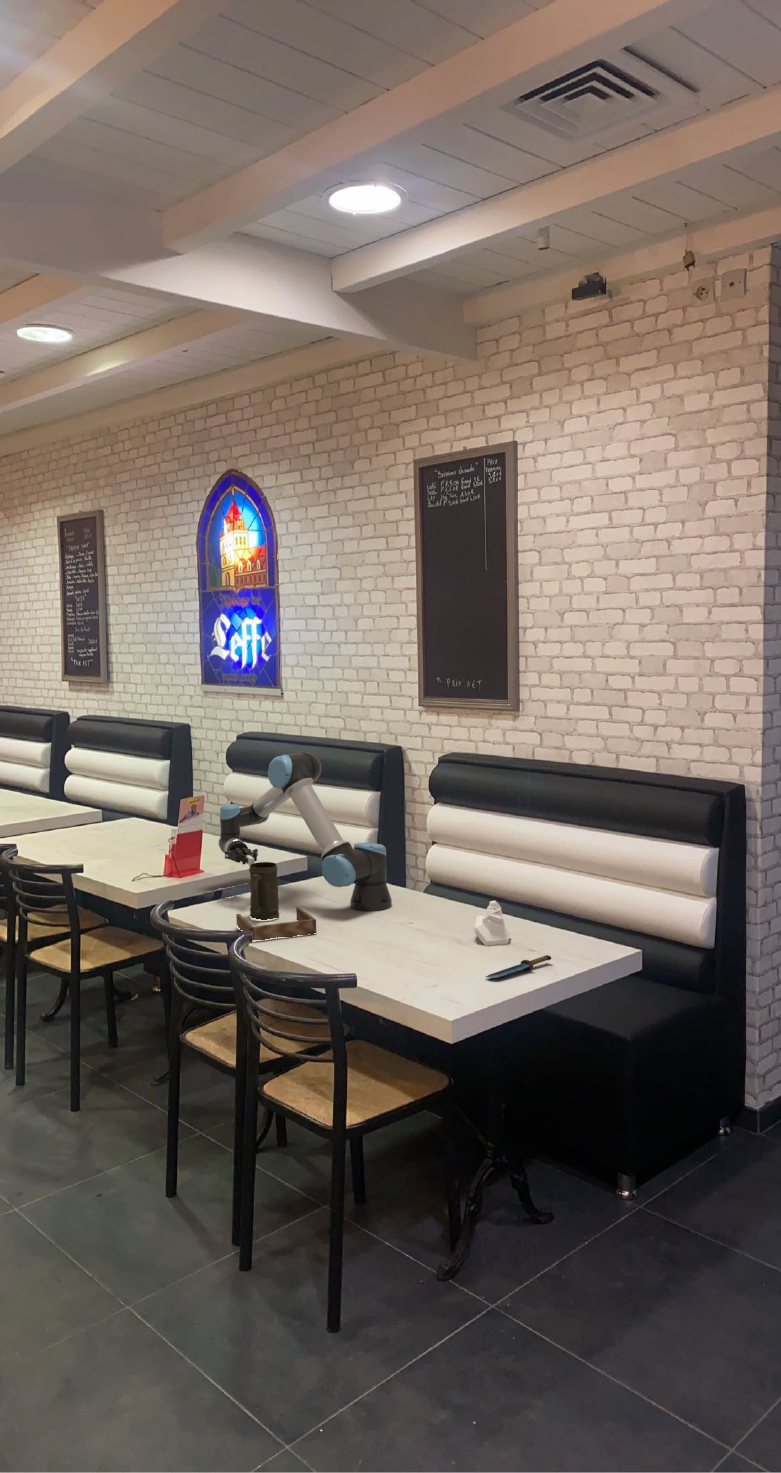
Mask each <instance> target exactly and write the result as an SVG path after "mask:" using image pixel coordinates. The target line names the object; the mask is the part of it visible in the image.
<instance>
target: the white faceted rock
mask: <svg viewBox="0 0 781 1473" xmlns="http://www.w3.org/2000/svg"><path fill="white" fill-rule="evenodd" d="M473 932H474V934H475V935H476V937H478V939H479V940H480V941H481V942H482V943H483V945H484V946H485V947H489V946H499V945H500V946H501V945H508V944H509V940H510V938H511V937H510V935H511V932H510V931H509V930H508V928H507V927H506V925H505V921H504V917H503V911H502V906H501V905H500V904H499V903H498V901H496V900H491V901H489V905H488V906H487V908H486V909H485V910H484V911H483V915H476V920H475V924H474V928H473Z"/></svg>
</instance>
